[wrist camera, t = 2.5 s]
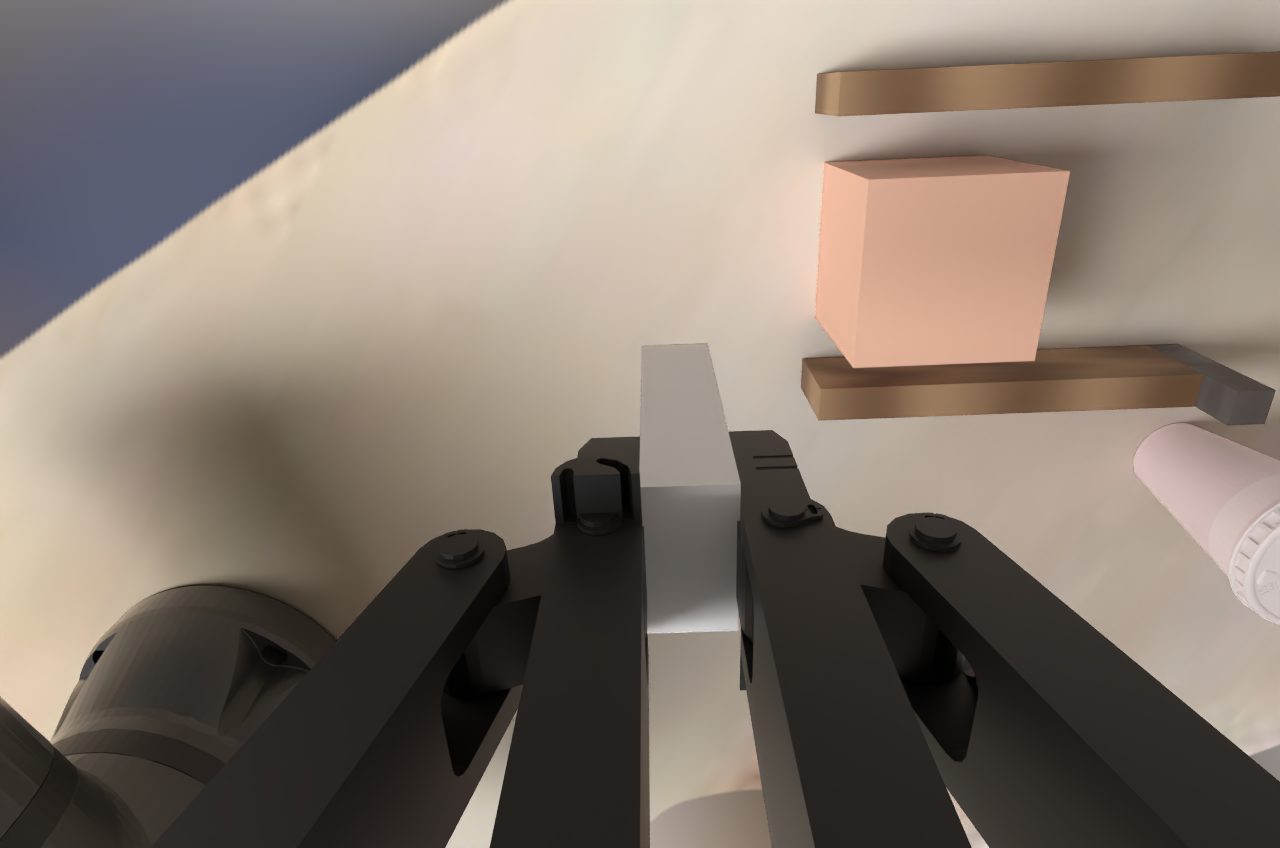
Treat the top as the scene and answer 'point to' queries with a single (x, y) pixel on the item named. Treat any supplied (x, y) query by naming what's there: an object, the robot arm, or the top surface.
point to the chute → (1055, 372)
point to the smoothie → (1221, 505)
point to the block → (937, 258)
